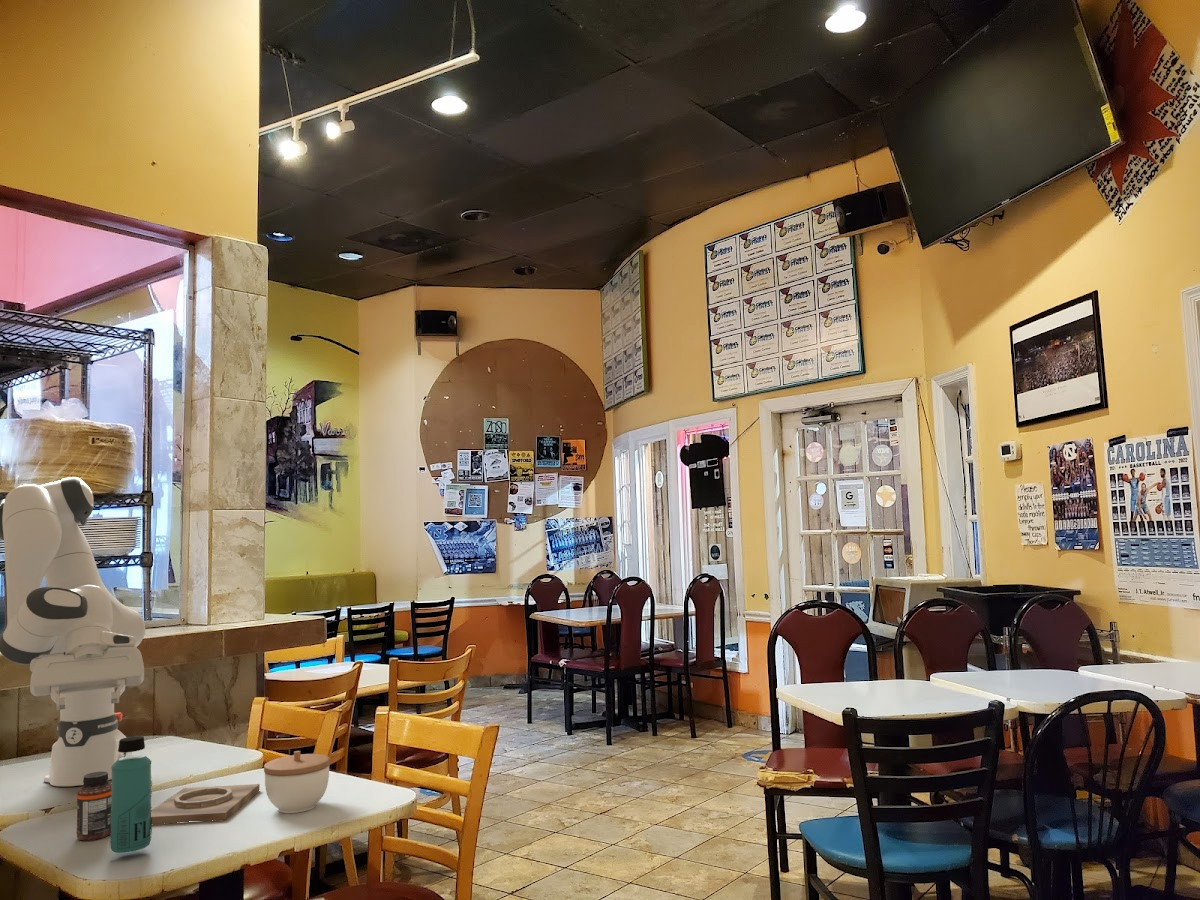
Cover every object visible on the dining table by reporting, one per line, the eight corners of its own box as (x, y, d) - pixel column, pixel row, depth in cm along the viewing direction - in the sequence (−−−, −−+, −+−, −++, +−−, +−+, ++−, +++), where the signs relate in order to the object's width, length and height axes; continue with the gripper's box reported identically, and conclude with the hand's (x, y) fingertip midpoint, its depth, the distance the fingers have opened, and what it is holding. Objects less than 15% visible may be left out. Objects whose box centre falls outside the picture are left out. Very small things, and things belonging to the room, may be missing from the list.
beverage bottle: (133, 863, 148) (135, 741, 150) (99, 861, 149) (101, 741, 151) (160, 849, 154) (161, 733, 156) (127, 848, 156) (129, 733, 158)
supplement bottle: (78, 834, 164) (80, 772, 166) (114, 829, 167) (115, 767, 168) (73, 844, 159) (75, 779, 160) (111, 838, 161) (112, 775, 162)
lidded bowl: (266, 822, 168) (266, 762, 169) (261, 804, 179) (261, 749, 180) (334, 810, 173) (334, 753, 174) (325, 795, 184) (325, 741, 185)
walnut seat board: (183, 795, 188) (183, 783, 188) (259, 791, 189) (259, 779, 189) (140, 825, 168) (140, 812, 168) (225, 820, 169) (225, 807, 169)
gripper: (30, 646, 177) (25, 701, 168) (143, 636, 188) (145, 688, 178) (31, 666, 181) (27, 721, 171) (142, 655, 191) (144, 707, 182)
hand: (88, 704), depth 175 cm, fingers open, 8 cm apart
